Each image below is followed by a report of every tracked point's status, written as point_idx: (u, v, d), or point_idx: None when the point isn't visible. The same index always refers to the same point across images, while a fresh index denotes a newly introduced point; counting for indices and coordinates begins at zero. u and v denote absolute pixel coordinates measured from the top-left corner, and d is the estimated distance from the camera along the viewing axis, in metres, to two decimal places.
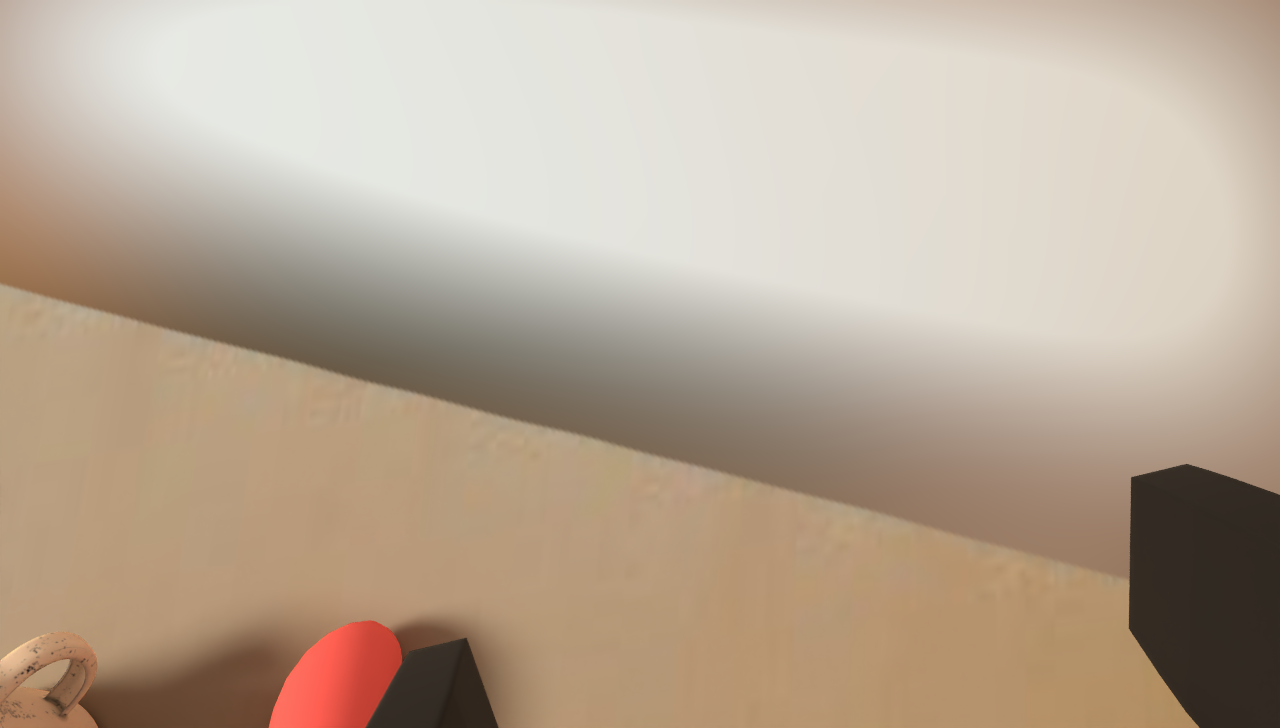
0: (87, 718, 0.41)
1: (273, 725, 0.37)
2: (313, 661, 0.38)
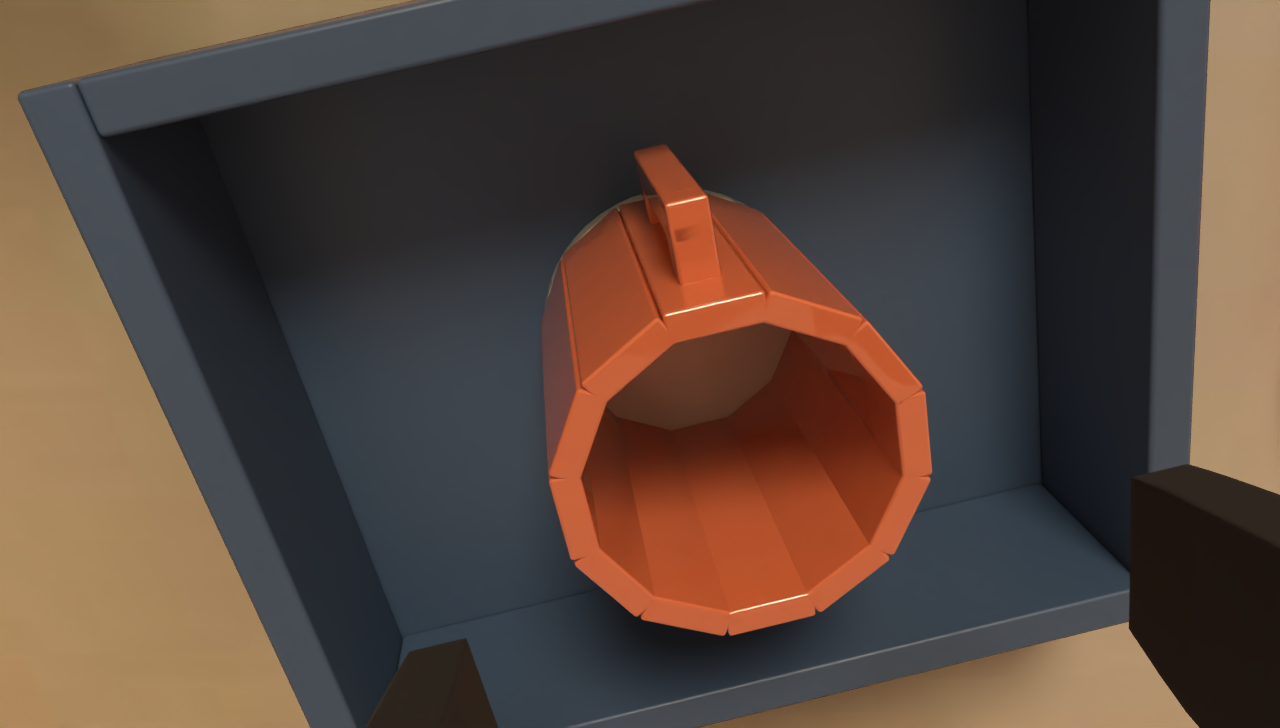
0: None
1: None
2: None
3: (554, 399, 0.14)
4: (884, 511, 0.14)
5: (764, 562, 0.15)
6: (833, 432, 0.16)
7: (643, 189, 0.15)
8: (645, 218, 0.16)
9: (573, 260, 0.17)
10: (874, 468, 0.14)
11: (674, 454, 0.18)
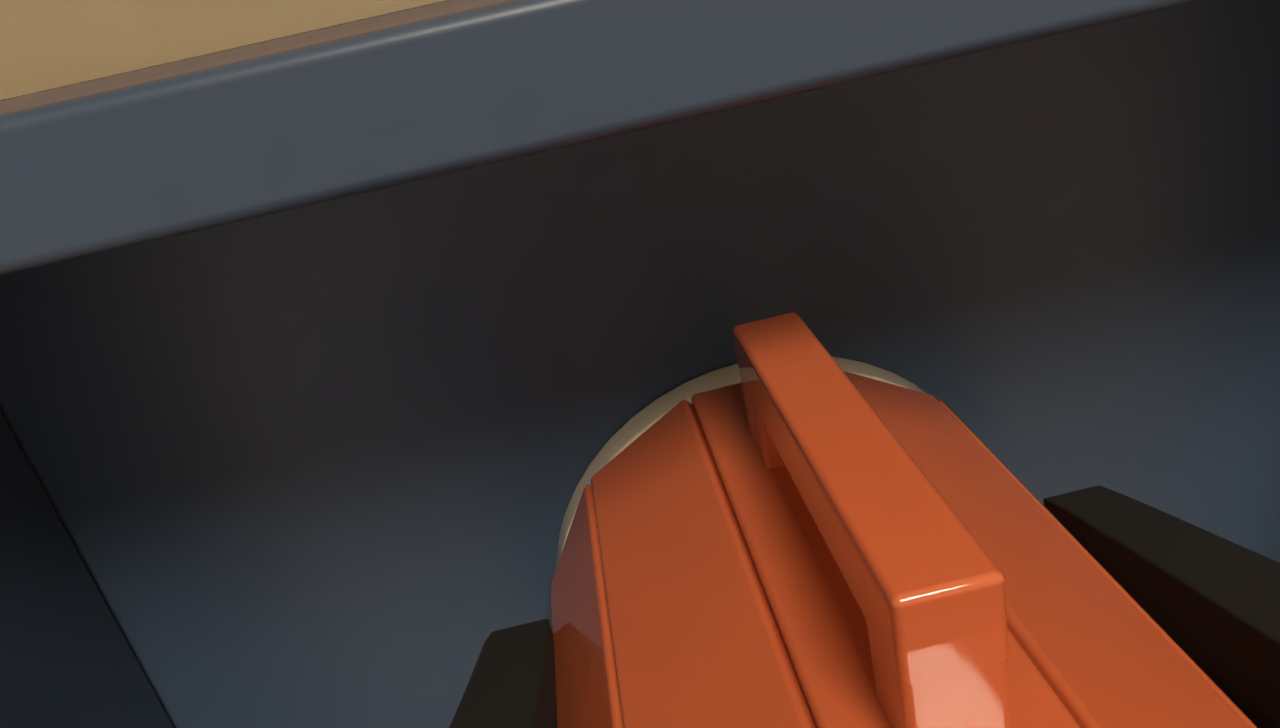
0: None
1: None
2: None
3: None
4: None
5: None
6: None
7: (759, 413, 0.08)
8: (752, 446, 0.08)
9: (612, 509, 0.09)
10: None
11: None
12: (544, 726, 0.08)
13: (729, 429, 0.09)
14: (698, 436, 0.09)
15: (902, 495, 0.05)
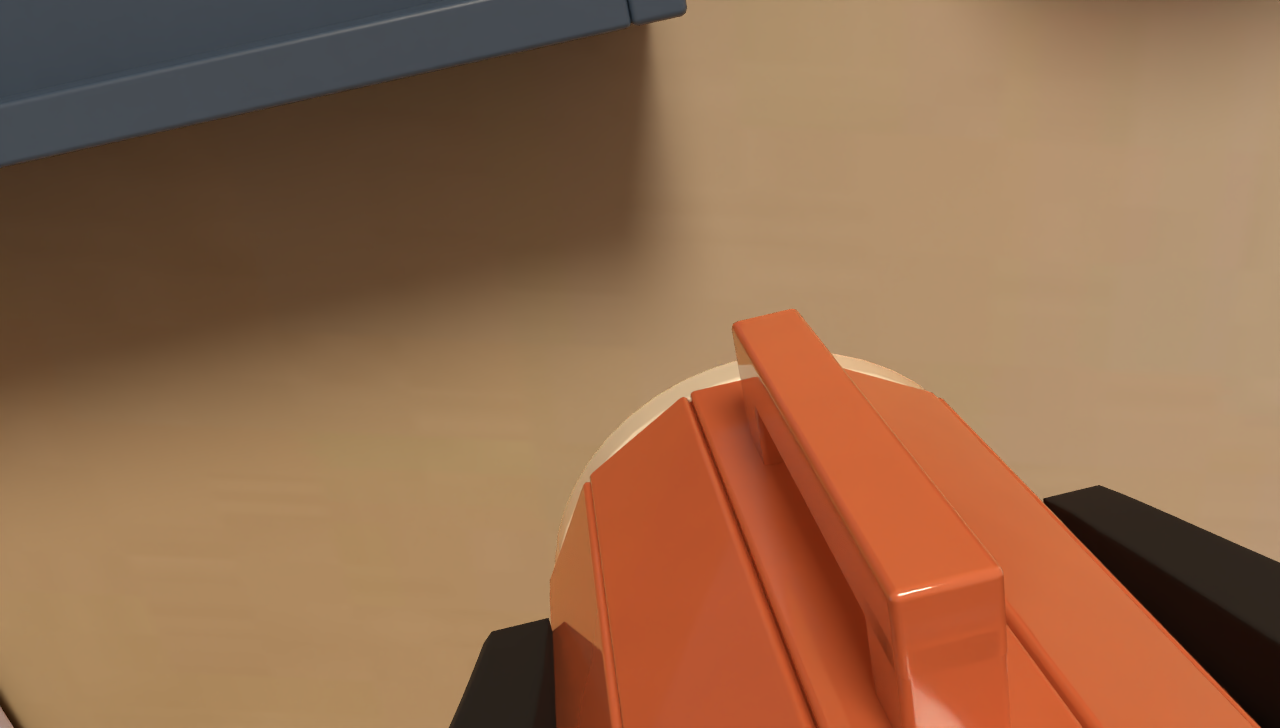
0: None
1: None
2: None
3: None
4: None
5: None
6: None
7: (758, 409, 0.08)
8: (751, 443, 0.08)
9: (611, 506, 0.09)
10: None
11: None
12: (544, 726, 0.08)
13: (728, 426, 0.09)
14: (697, 433, 0.09)
15: (901, 490, 0.05)
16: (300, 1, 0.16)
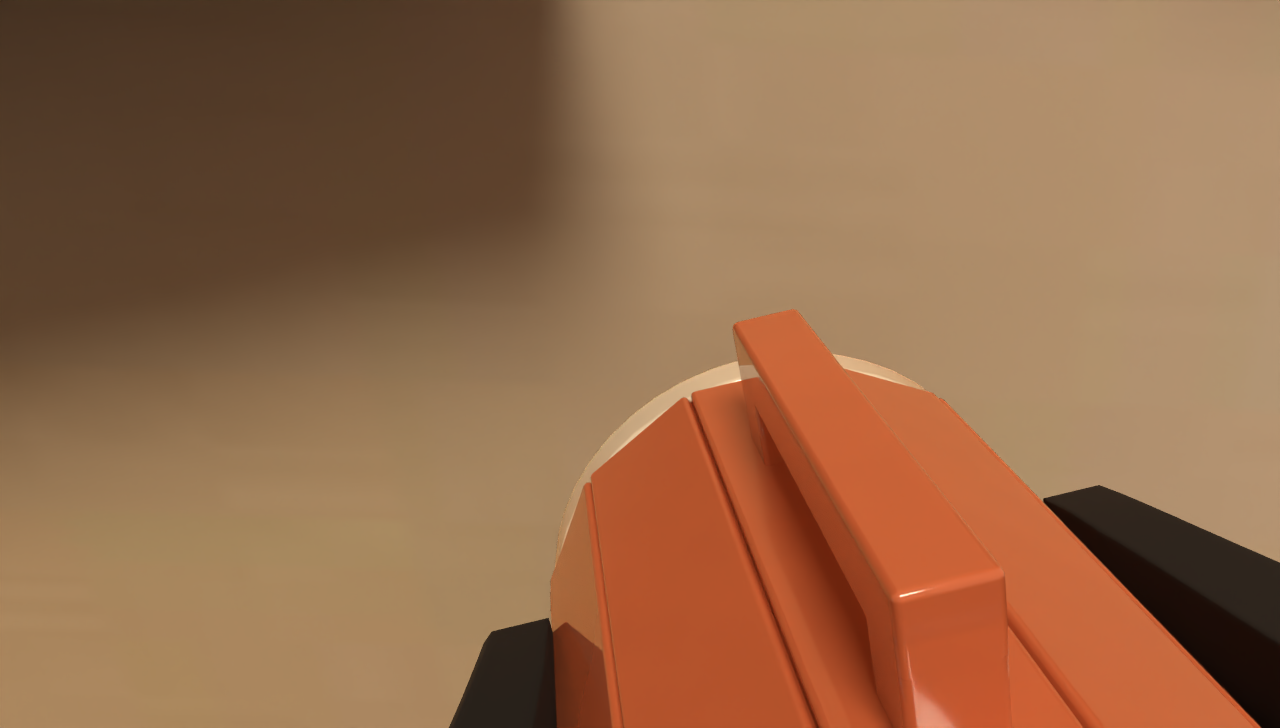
0: None
1: None
2: None
3: None
4: None
5: None
6: None
7: (759, 410, 0.08)
8: (751, 444, 0.08)
9: (611, 507, 0.09)
10: None
11: None
12: (544, 726, 0.08)
13: (729, 426, 0.09)
14: (698, 433, 0.09)
15: (902, 491, 0.05)
16: None
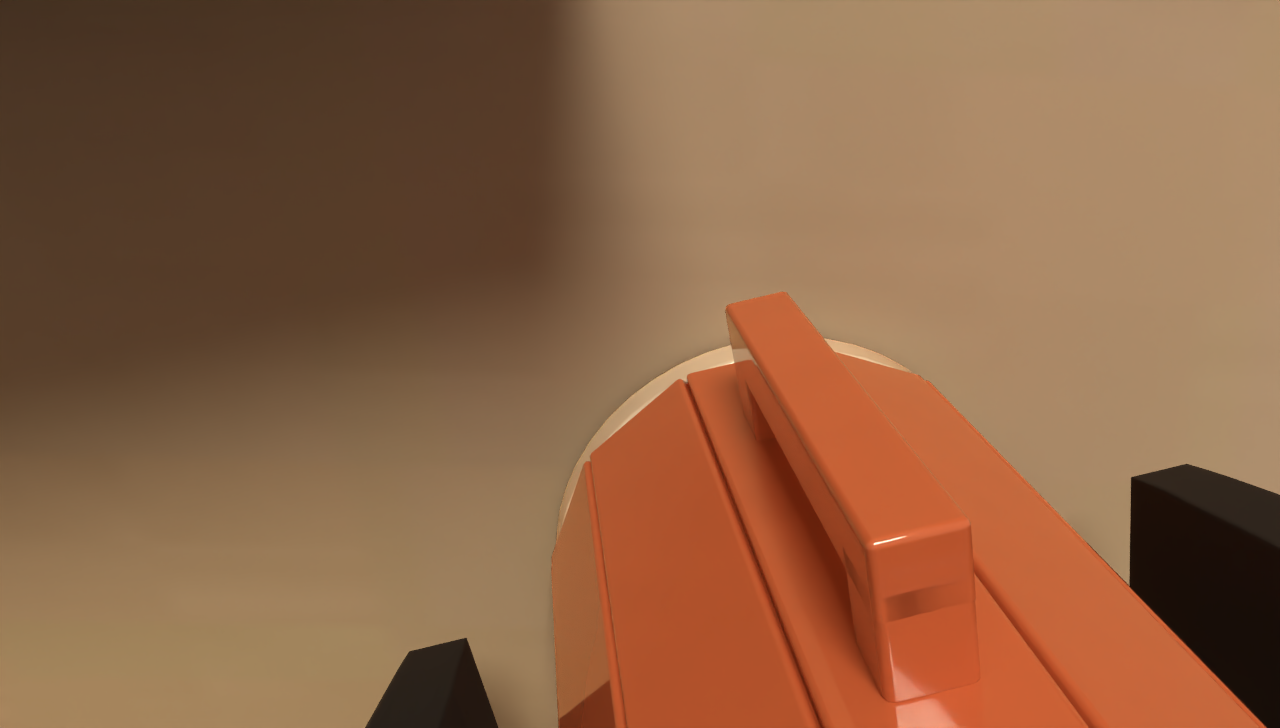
0: None
1: None
2: None
3: None
4: None
5: None
6: None
7: (750, 386, 0.08)
8: (743, 421, 0.09)
9: (610, 483, 0.09)
10: None
11: None
12: None
13: (722, 405, 0.09)
14: (692, 412, 0.09)
15: (879, 453, 0.06)
16: None
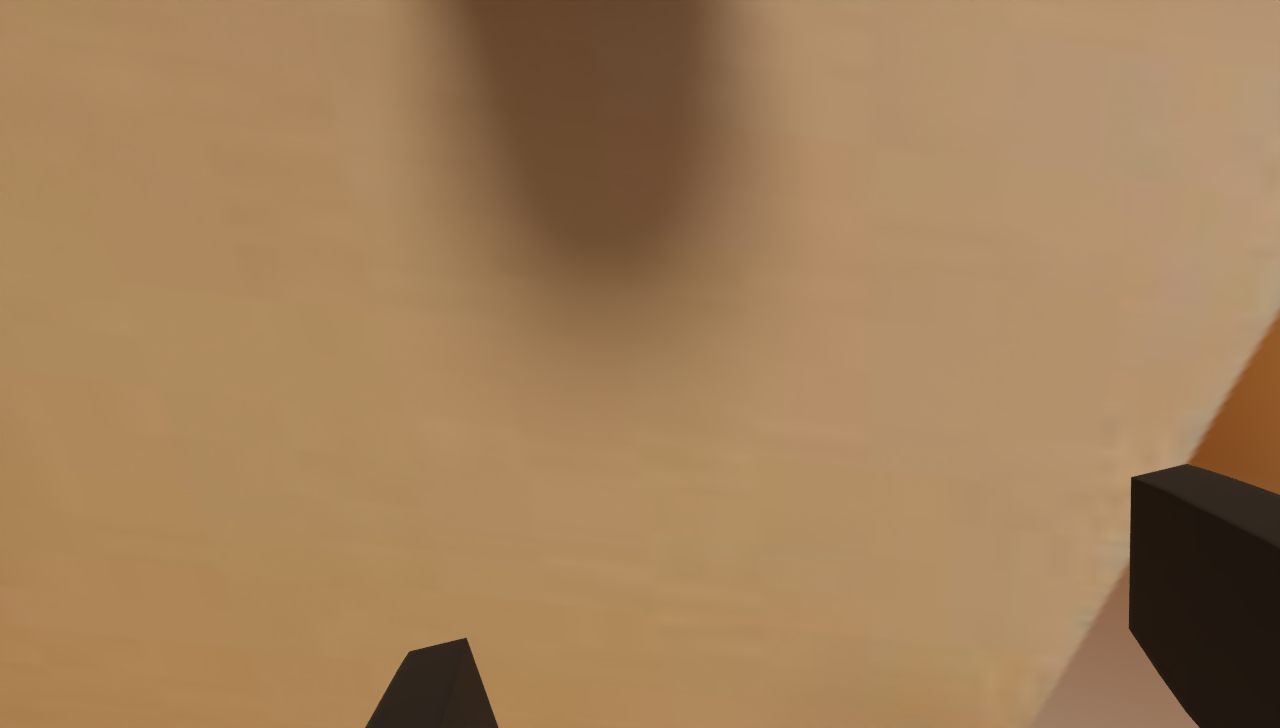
0: None
1: None
2: None
3: None
4: None
5: None
6: None
7: None
8: None
9: None
10: None
11: None
12: None
13: None
14: None
15: None
16: None
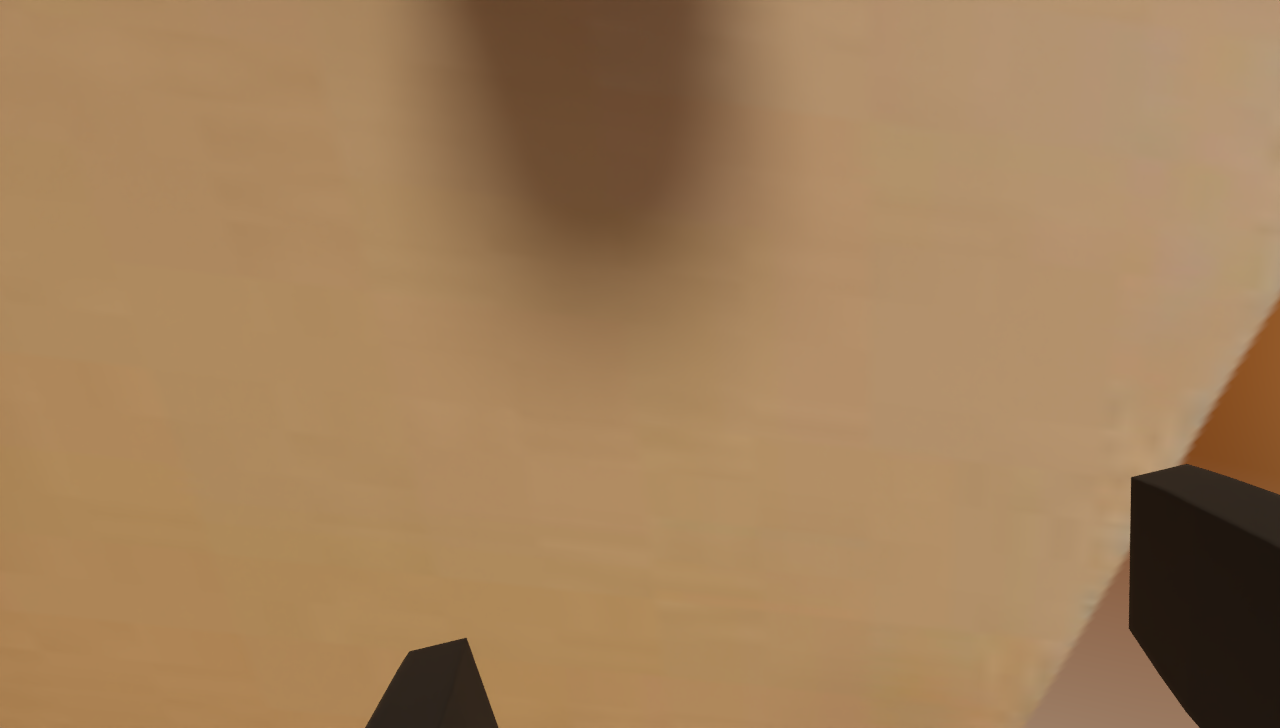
0: None
1: None
2: None
3: None
4: None
5: None
6: None
7: None
8: None
9: None
10: None
11: None
12: None
13: None
14: None
15: None
16: None
